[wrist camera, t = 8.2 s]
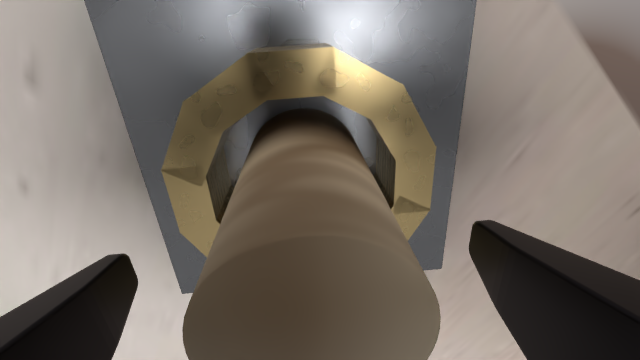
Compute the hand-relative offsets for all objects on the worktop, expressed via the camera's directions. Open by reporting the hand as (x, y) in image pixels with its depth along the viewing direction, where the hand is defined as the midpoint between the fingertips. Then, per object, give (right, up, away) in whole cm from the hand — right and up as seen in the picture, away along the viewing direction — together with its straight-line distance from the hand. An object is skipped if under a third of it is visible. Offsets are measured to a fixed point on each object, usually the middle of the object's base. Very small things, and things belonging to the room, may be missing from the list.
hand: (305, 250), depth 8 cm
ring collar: (0, +3, +7) cm, 7 cm away
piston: (0, +3, +6) cm, 6 cm away
